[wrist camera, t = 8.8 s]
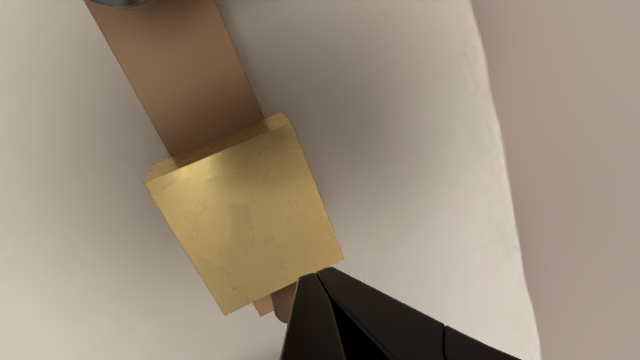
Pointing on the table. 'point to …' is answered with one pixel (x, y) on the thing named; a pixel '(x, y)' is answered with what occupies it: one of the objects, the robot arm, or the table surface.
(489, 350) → the robot arm
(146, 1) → the lever
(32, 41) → the table surface
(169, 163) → the gold metal plate
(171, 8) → the body
